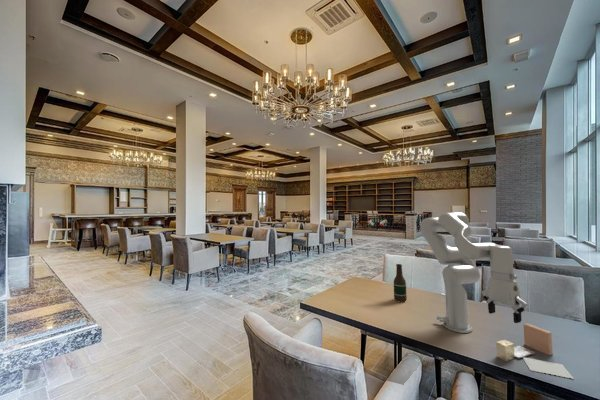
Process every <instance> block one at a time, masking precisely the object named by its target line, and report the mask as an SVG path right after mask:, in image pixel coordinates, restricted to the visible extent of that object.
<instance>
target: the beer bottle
mask: <svg viewBox="0 0 600 400" xmlns="http://www.w3.org/2000/svg"><path fill="white" fill-rule="evenodd" d="M395 266H396V275H395V277H394V279H393V298H394V299H395V300H397V301H400V302H402V303H406V302H407V301H406V300H408V299H407V297H408V296H407V281H406V279H405V277H404V276H403V265H402V263H401V264H400V263H397V264H396V265H395ZM395 300H394V301H395ZM405 301H406V302H405ZM400 302H399V303H400Z"/></svg>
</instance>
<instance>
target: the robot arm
mask: <svg viewBox="0 0 600 400" xmlns="http://www.w3.org/2000/svg"><path fill="white" fill-rule="evenodd" d="M469 223H470V219H469V216H468V215H467V214H466V213H463V212H460V211H459V212H444V213H442V214H440V215H439V216H438V217H437V216H435V217H432V216H431V217H427V218H424V219H422V220H421V222H420V225H419V227H420V228H419V229H420V232H421V235H422V237H423V238H424V240H425V241H426V242H427V244H428V245H429V247H430V248H431V250H432V252H433V255H434V256H435V258H436V260H437V262H438V263H439V264H440V265H443V266H445V267H444V268H442V272H441V274H442V279H443V284H444V290H445V293H444V295H445V311H446V314H445V315H443V316H441V315H436V320H438V321H439V322H440V323H443V327H445V329H447V330H448V331H451V332H455V333H460V334H468V333H471V332H472V331H473V327H472V326H471V324H469V314H468V312H469V311H468V308H469V307H468V293H467V291H466V289H465V288H464V286H463V285H465V284H466V285H467V284H476V283H478V282H479V281H480V280H481V273H480V270H479V268H478V267H477V265H476V263H475V261H489V263H490V264H489V265H490V276H489V277H488V283H487V284H488V285H487V289H484V290H481V294H482V296H483V299H484V300H485V302H486V304H487V309H488V314H495V313H496V303H498V304H501V305H504V306H507V307H510V308H511V310H512V311H514V312H513V313H512V314H513V323H514V324H518V323H521V322H522V313H524V311H526V310H527V309H528V307H529V304H528V303H527V302H526V301H525V300H523V299H522V298H521V294H520V288H519V284H518V282H517V279H518V276H517V275H515V273H514V257H513V255H514V253H513V249H512V247H511V246H508V245H502V244H497V243H495V242H474V243H472V242H471V241H470V240H468V238H469V237H470V236H471V233H472V228H471V226H470V225H469ZM442 232H444V233H445V232H448V233H449V235H451V236H452V237H453V238H454V245H455V246H450V245H448V242H447V241H446V239H445V238H444V237H443V236H441V235H440V234H438V233H442ZM520 305H521V306H520Z"/></svg>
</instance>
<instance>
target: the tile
mask: <svg viewBox="0 0 600 400" xmlns="http://www.w3.org/2000/svg"><path fill="white" fill-rule="evenodd" d="M523 338H524V339H523V341H524V343H523V344H524V345H525V346H527V347H529V348H532V349H533V350H536V351H539V352H541V353H542V354H546V355H548V356H552V355H554V351H553V350H554V349H553V333H552V331H549V330H547V329H543V328H540V327H538V326H535V325H533V324H530V323H523Z"/></svg>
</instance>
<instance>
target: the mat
mask: <svg viewBox="0 0 600 400" xmlns="http://www.w3.org/2000/svg"><path fill="white" fill-rule="evenodd" d="M521 359H522V360H523V361H524V362H525V364H526V366H527V367H528V369H529V371H531V372H536V373H540V374H544V373H546V374H545V375H549V374H551V375H550V376H554V375H556V376H555V377H559V376H560V377H559V378H564V377H565V378H564V379H569V378H571V379H570V380H575V378H574V376H573V375H571V373H570V372H569V371H568V369H567V368H566V367H565V366H564V365H563V364H562V363H558V362H557V363H556V362H553V361H552V362H551V361H546V360H540V359H535V358H530V357H526V356H525V357H522V358H521Z"/></svg>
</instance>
